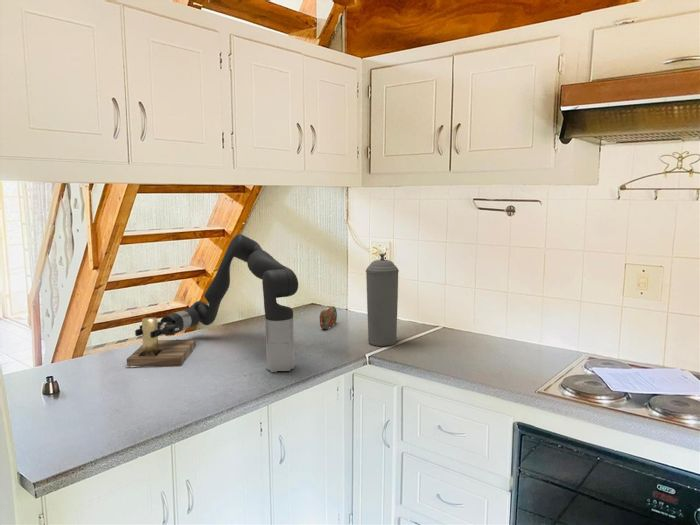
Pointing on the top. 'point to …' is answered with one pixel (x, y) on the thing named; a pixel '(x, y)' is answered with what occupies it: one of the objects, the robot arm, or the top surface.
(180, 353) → the jig
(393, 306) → the canister
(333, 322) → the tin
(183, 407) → the top surface
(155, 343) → the brass cylinder
